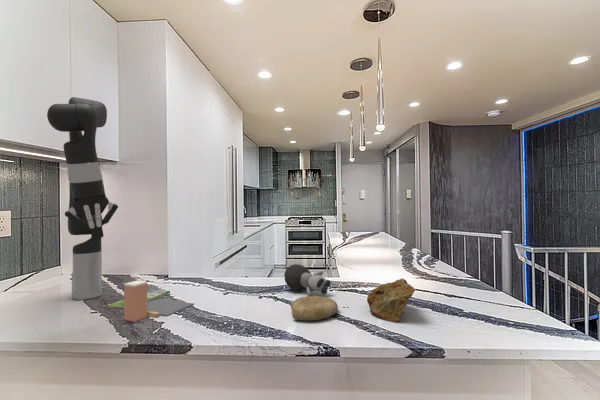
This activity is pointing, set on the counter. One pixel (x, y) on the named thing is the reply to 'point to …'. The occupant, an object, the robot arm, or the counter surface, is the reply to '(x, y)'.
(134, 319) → the block
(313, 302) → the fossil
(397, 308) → the rock
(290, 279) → the toy
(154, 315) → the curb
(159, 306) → the mat
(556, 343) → the counter surface
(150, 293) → the green flat panel
